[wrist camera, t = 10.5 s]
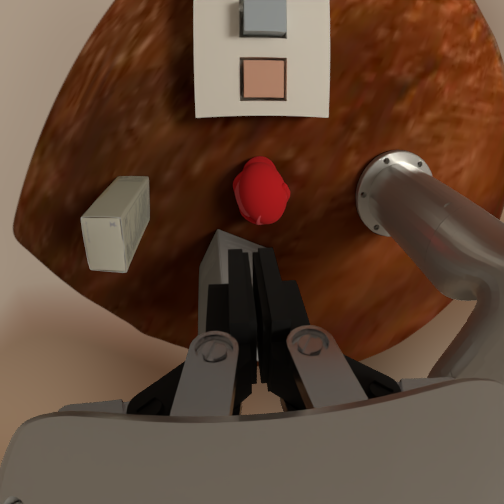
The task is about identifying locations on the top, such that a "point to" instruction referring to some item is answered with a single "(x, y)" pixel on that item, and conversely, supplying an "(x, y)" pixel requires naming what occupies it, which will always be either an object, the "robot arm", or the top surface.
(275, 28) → the slate button
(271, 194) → the cap
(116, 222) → the skincare box
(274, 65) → the terracotta button
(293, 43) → the button panel
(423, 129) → the top surface
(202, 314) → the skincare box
